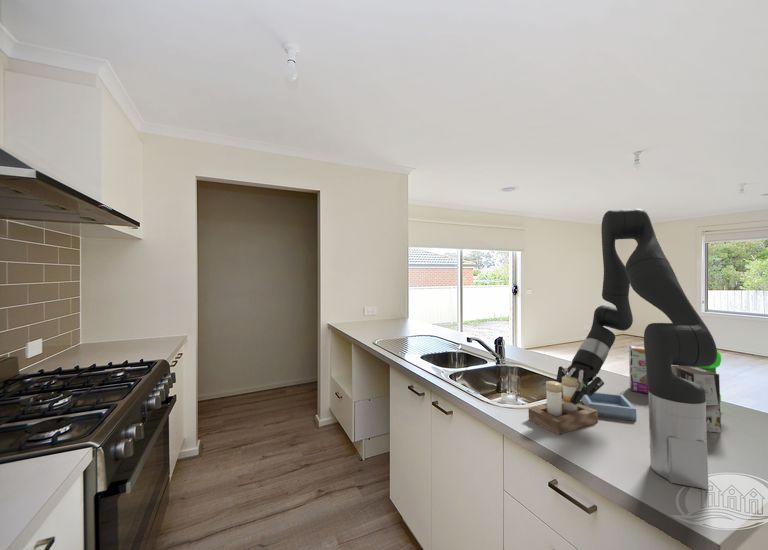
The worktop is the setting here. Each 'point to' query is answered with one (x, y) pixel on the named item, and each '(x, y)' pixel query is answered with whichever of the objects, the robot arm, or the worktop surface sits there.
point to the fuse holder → (563, 418)
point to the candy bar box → (638, 369)
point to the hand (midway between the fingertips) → (566, 400)
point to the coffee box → (711, 390)
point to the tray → (610, 405)
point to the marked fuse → (569, 392)
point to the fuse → (554, 398)
